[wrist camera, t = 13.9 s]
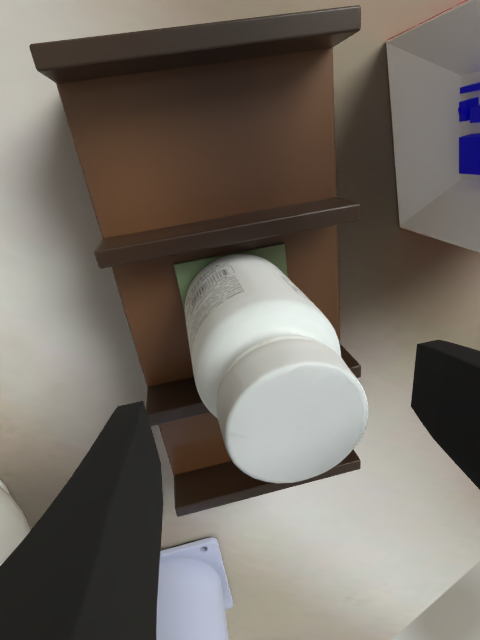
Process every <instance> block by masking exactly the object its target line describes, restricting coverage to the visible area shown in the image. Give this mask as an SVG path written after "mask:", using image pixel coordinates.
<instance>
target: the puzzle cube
mask: <svg viewBox="0 0 480 640" xmlns="http://www.w3.org/2000/svg"><path fill="white" fill-rule="evenodd" d="M386 47H387V61H388V75H389V88H390V102H391V115H392V129H393V143H394V156H395V170H396V183H397V197H398V210H399V224H400V228H403V229H406V230H409V231H412V232H415V233H418V234H421V235H425V236H429V237H432V238H435V239H438V240H441V241H444V242H448V243H451V244H454V245H457V246H460V247H463V248H467V249H470V250H473V251H476V252H479V253H480V0H465V1H463V2H461V3H460V4H458V5H457V6H455V7H453V8H450V9H448V10H446V11H444V12H442V13H440V14H438V15H436V16H434V17H432V18H430V19H428V20H426V21H424V22H422V23H420V24H418V25H417V26H414V27H412V28H410V29H408V30H406V31H404V32H402V33H400V34H398V35H396V36H394V37H392V38H390V39H388V40H387V41H386Z"/></svg>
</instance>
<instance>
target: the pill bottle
mask: <svg viewBox="0 0 480 640" xmlns="http://www.w3.org/2000/svg"><path fill="white" fill-rule="evenodd" d="M185 319H186V327H187V333H188V340H189V348H190V354H191V361H192V367H193V374H194V379H195V384H196V388H197V391H198V393H199V396H200V398H201V400H202V402H203V403H204V405H205V406H206V407H207V409H208V410H209V411H210V412H211V413H212V414H213V415H214V416H215V417H216V418H218V422H219V425H220V429H221V433H222V437H223V441H224V444H225V448H226V450H227V452H228V454H229V457H230V458H231V460H232V461H233V463H234V464H235V465H236V466H237V467H238V468H239V469H240V470H241V471H243V472H244V473H245V474H247V475H249V476H251V477H253V478H255V479H258V480H261V481H265V482H271V483H294V482H299V481H303V480H306V479H309V478H312V477H315V476H318V475H320V474H322V473H325V472H326V471H328V470H330V469H331V468H333V467H334V466H336V465H337V464H339V463H340V462H341V461H342V460H343V459H344V458H346V457H347V456H348V454H349V453H350V452H351V451H352V450H353V449H354V447H355V446H356V445H357V443H358V442H359V440H360V439H361V437H362V435H363V432H364V430H365V428H366V424H367V419H368V402H367V397H366V394H365V392H364V389H363V387H362V386H361V384H360V382H359V381H358V379H357V378H356V377H355V376H354V374H353V373H352V372H351V370H350V369H349V368H348V366H347V365H346V364H345V362H344V361H343V359H342V358H341V351H340V344H339V340H338V337H337V335H336V332H335V330H334V328H333V326H332V325H331V323H330V322H329V320H328V319H327V318H326V317H325V316H324V314H323V313H322V312H321V311H320V310H319V309H318V308H317V307H316V306H315V305H314V303H312V302H311V301H310V300H309V299H308V297H307V296H306V295H305V294H304V293H303V292H302V291H301V290H300V289H299V288H298V287H296V286H295V285H294V284H293V283H292V282H291V281H290V280H289V278H288V277H287V276H285V274H284V273H282V272H281V271H280V270H279V269H278V268H277V267H276V266H275V265H274V264H272V263H271V262H269V261H268V260H266V259H264V258H261V257H258V256H255V255H249V254H233V255H228V256H225V257H221V258H219V259H217V260H215V261H213V262H211V263H210V264H208V265H207V266H206V267H204V268H203V269H202V270H201V271H200V272H199V273H198V274H197V276H196V277H195V278H194V279H193V281H192V282H191V284H190V286H189V289H188V292H187V295H186V299H185Z"/></svg>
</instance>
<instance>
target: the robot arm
mask: <svg viewBox="0 0 480 640" xmlns="http://www.w3.org/2000/svg"><path fill="white" fill-rule="evenodd" d="M411 407H412V409H413V410H414V412H415V413H416V415H417V416H418V418H419V419H420V421H421V422H422V423H423V425H424V426H425V428H426V429H427V430H428V432H429V433H430V435H431V436H432V437H433V439H434V440H435V441H436V442H437V443H438V444H439V445H440V447H441V448H442V449H443V450H444V451H445V452H446V453H447V454H448V455H449V457H450V458H451V459H452V460H453V461H454V462H455V463H456V464H457V465H458V466H459V468H460V469H461V470H462V471H463V472H464V473H465V474H466V475H467V476H468V477H469V478H470V479H471V481H472V482H473V483H474V484H475V485H476V486H477V487H478V488H479V489H480V351H478V350H474V349H471V348H468V347H464V346H461V345H458V344H454V343H450V342H446V341H441V340H435V341H430V342H425V343H421V344H417V351H416V361H415V371H414V381H413V391H412V401H411ZM162 514H163V492H162V474H161V462H160V459H159V455H158V452H157V448H156V444H155V441H154V437H153V434H152V430H151V427H150V423H149V420H148V416H147V413H146V409H145V405H144V402H143V401H141V402H136V403H132V404H127V405H122V406H118V407H117V408H116V410H115V411H114V412H113V414H112V415H111V417H110V419H109V420H108V422H107V423H106V425H105V427H104V428H103V430H102V431H101V433H100V434H99V436H98V438H97V439H96V441H95V442H94V444H93V445H92V447H91V448H90V450H89V452H88V453H87V454H86V456H85V457H84V459H83V460H82V462H81V463H80V465H79V466H78V468H77V469H76V471H75V472H74V474H73V475H72V477H71V478H70V479H69V481H68V482H67V484H66V485H65V486H64V488H63V489H62V490H61V492H60V493H59V494H58V496H57V497H56V498H55V500H54V501H53V502H52V504H51V505H50V506H49V508H48V509H47V510H46V512H45V513H44V514H43V516H42V517H41V518H40V520H39V521H38V522H37V523H36V525H35V526H34V527H33V528H32V530H31V531H30V532H29V533H28V535H27V536H26V537H25V538H24V539H23V541H22V542H21V543H20V544H19V545H18V546H17V548H16V549H15V550H14V551H13V552H12V553H11V554H10V556H9V557H8V558H7V559H6V560H5V561H4V562H3V564H2V565H1V566H0V640H229V636H228V629H227V622H226V614H225V610H228V609H230V608H231V607H232V606H233V599H232V595H231V592H230V588H229V584H228V580H227V576H226V572H225V568H224V564H223V560H222V557H221V553H220V549H219V545H218V541H217V539H216V538H213V537H210V538H206V539H202V540H198V541H195V542H191V543H187V544H184V545H180V546H176V547H173V548H169V549H165V550H162V551H160V548H161V531H162Z"/></svg>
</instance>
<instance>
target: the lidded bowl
mask: <svg viewBox="0 0 480 640" xmlns="http://www.w3.org/2000/svg"><path fill="white" fill-rule="evenodd" d="M30 531H31V530H30V528H29V525H28V522H27V520H26V517H25V515H24V514H23V512H22V510H21V509H20V507H19V506H18V504H17V503H16V502H15V500H14V499H13V498H12V497H11V494H10V492H9V490H8V489H7V487H6V485H5V484H4V483H3V482H2V481H1V480H0V566H1V565H2V564H3V562H4V561H5V560H6V559H7V558H8V557H9V556H10V554H11V553H12V552H13V551H14V550H15V549H16V548H17V546H18V545H19V544H20V543H21V542H22V541H23V539H24V538H25V537H26V536H27V535H28V533H29V532H30Z"/></svg>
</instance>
